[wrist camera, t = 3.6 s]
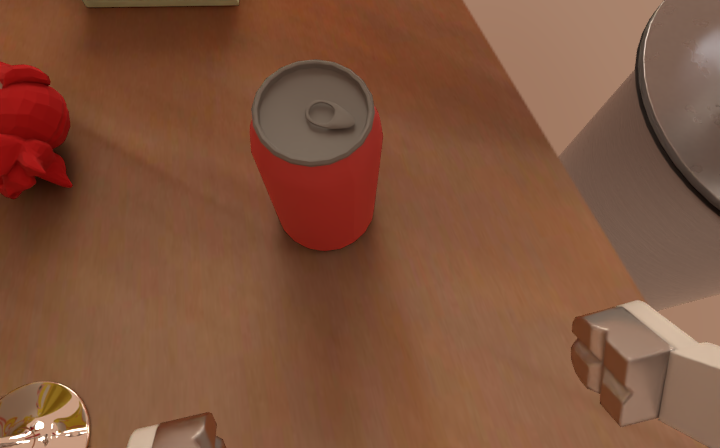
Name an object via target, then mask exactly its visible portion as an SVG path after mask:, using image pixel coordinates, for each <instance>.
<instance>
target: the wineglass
mask: <svg viewBox="0 0 720 448" xmlns="http://www.w3.org/2000/svg"><path fill="white" fill-rule="evenodd" d="M89 439H90V418H89V413H88V410H87V408H86V405H85V404H84V402H83V400H82V399H81V397H80V396H79V395H78V394H77V393H76V392H75V391H73V390H72V389H71V388H69V387H67V386H65V385H63V384H60V383H56V382H50V381H41V382H34V383H30V384H26V385H23V386H21V387H19V388H17V389H15V390H13V391H11V392H10V393H8V394H7V395H6V396H4V397H3V398H2V399H1V400H0V448H87V447H88V444H89Z"/></svg>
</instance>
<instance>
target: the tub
mask: <svg viewBox="0 0 720 448" xmlns="http://www.w3.org/2000/svg"><path fill="white" fill-rule="evenodd" d="M82 1H83V3H84V4H85V5H86V7H149V6H225V5H239V0H82Z"/></svg>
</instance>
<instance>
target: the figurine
mask: <svg viewBox="0 0 720 448" xmlns="http://www.w3.org/2000/svg"><path fill="white" fill-rule="evenodd" d="M48 85H50V79H49V76H47V75H46V74H45V73H43V72H42V71H41V70H39V69H38V68H36V67H33V66H29V65H24V64H22V65H13V66H11V65H8V64H6V63H3V62H0V193H1V194H2V195H4V196H5V197H7V198H11V199H16V198H18V197H19V195H20V194H21V193H22V191H24V190H27V189H29V188H31V187H32V186H34V185H35V184H36V178H35V177H34V176H37V177H39V178H42V179H44V180H46V181H49V182H51V183H54V184H57V185H59V186H62V187H69V188H71V187H72V186H73V185H72V183H71V182H70V180H69V178H68V177H67V175H66V167H65V163H64V160H63V158H62V157H61V156H59V155H58V154H56V153H54V152H53V149H54V148H56V147H58V146H60V145H61V144H62V143H63V142H64V141H65V139H66V136H67V134H68V131H69V128H70V118H69V111H68V109H67V107H66V103H65V100H64V98H63V97H62V96H61V95H60V94H59V93H58V92H57V91H56V90H55V89H53V88H51V87H50V86H48Z"/></svg>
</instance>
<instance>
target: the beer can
mask: <svg viewBox="0 0 720 448" xmlns="http://www.w3.org/2000/svg"><path fill="white" fill-rule="evenodd" d="M251 110H252V121H251V124H250V142H251V153H252V155H253V157H254V160H255V162H256V165H257V167H258V169H259V172H260V174H261V177H262V179H263V182H264V184H265V186H266V189H267V191H268V194H269V196H270V199H271V201H272V203H273V206H274V208H275V211H276V213H277V216H278V218H279V220H280V222H281V224H282V227H283V229H284V231H285V232H286V233H287V234H288V235H289V236H290V237H291V238H292V239H293V240H294V241H295V242H297V243H299V244H301V245H303V246H305V247H307V248H309V249H315V250H321V251H328V250H335V249H340V248H343V247H345V246H347V245H349V244H351V243H353V242H355V241H356V240H357V239H358V238H359V237H360V236H361V235H362V234H363V233H364V232H365V231H366V229H367V227H368V226H369V224H370V222H371V220H372V217H373V211H374V205H375V197H376V189H377V181H378V173H379V165H380V157H381V149H382V141H383V133H382V127H381V122H380V117H379V114H378V111H377V109H376V107H375V106H374V103H373V98H372V94H371V93H370V91H369V89H368V88H367V86H366V84H365V82H364V81H363V80H362V79H361V78H360V77H359V76H357V75H356V74H355V73H354V72H353V71H352V70H350V69H348V68H346V67H344V66H342V65H339V64H337V63H335V62H330V61H323V60H317V59H315V60H306V61H297V62H295V63H292V64H289V65H287V66H284V67H282V68H280V69H278V70H277V71H276V72H274V73H273V74H272V75H270V76H269V77H268V78H266V80H265V81H264V82H263V84H262V85H261V87H260V88H259V89H258V91H257V92H256V95H255V98H254V102H253V105H252V109H251Z"/></svg>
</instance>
